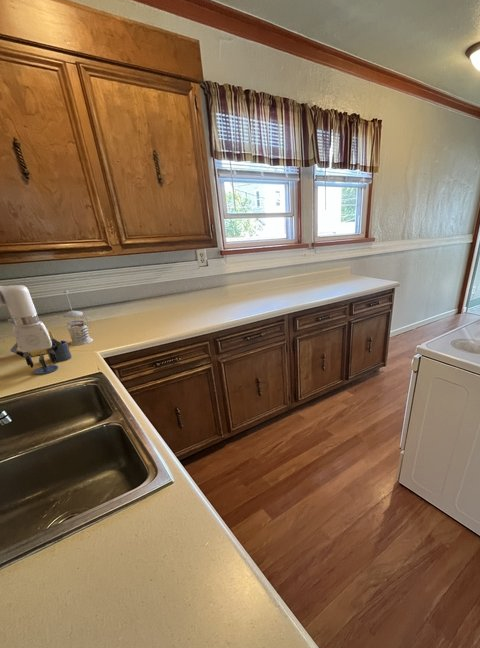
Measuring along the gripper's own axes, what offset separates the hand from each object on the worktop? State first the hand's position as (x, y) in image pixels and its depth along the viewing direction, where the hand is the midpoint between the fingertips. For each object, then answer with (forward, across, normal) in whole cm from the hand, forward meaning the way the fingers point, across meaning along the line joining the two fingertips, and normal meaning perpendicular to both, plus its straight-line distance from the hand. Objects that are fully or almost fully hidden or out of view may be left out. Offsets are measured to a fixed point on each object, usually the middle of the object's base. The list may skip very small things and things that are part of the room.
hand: (43, 364), depth 128 cm
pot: (+3, +5, +11) cm, 13 cm away
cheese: (+3, -2, +28) cm, 28 cm away
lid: (+3, 0, 0) cm, 3 cm away
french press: (+3, +14, +34) cm, 37 cm away
